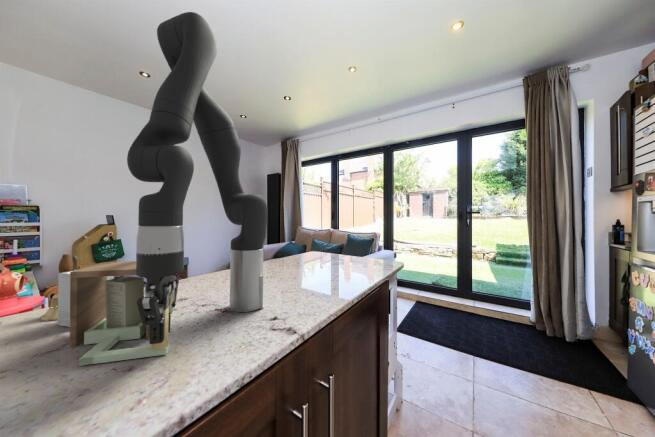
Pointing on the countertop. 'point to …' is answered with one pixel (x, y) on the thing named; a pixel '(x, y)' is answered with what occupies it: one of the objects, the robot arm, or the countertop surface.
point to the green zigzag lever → (113, 335)
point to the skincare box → (123, 301)
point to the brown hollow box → (92, 296)
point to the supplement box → (65, 298)
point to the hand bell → (52, 313)
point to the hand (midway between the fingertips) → (160, 337)
